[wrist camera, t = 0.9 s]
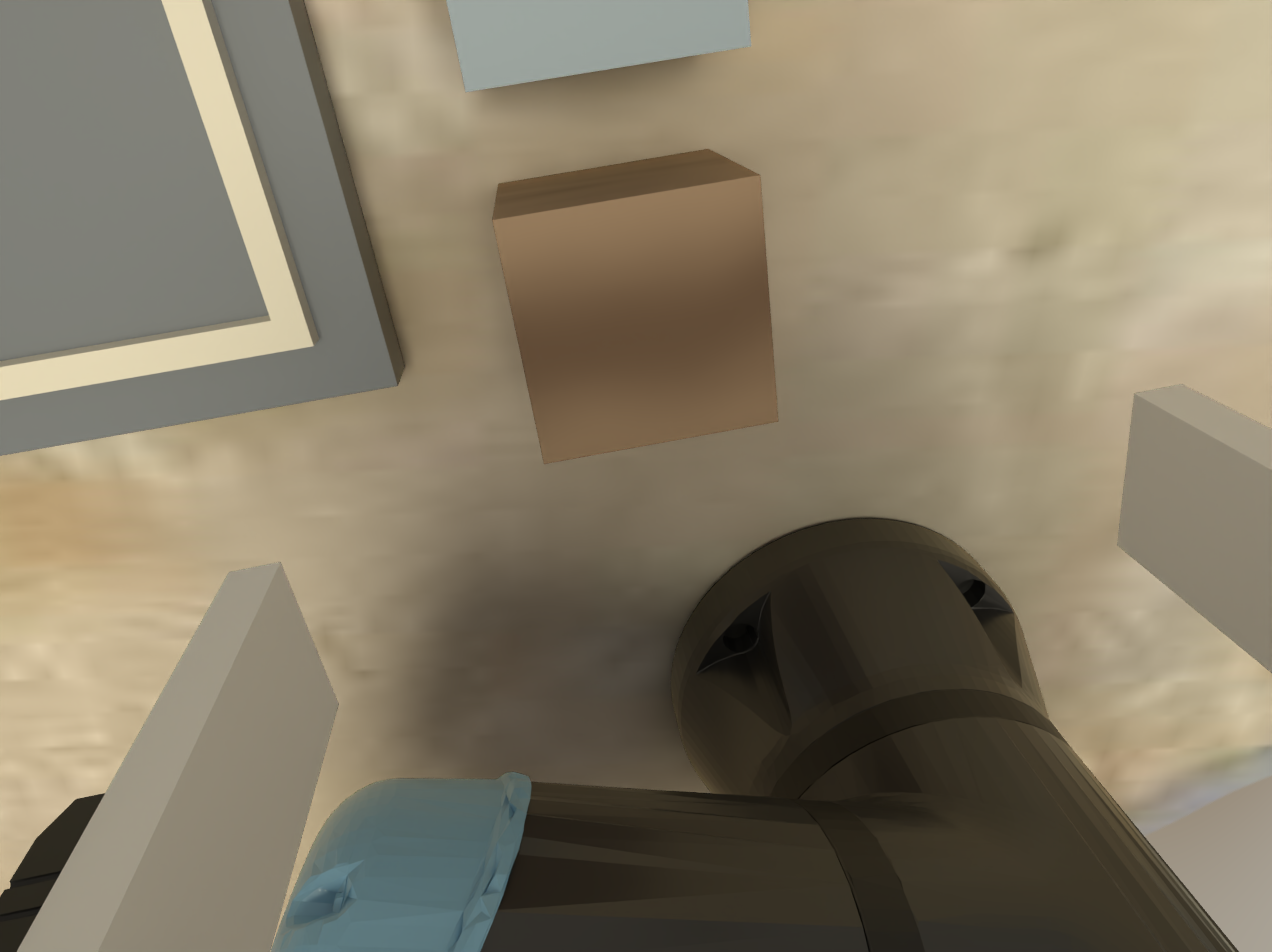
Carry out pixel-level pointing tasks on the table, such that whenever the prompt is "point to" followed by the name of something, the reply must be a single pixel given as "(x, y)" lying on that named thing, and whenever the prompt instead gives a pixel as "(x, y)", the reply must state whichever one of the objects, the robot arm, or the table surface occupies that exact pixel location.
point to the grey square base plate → (175, 221)
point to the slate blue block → (586, 35)
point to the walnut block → (639, 301)
